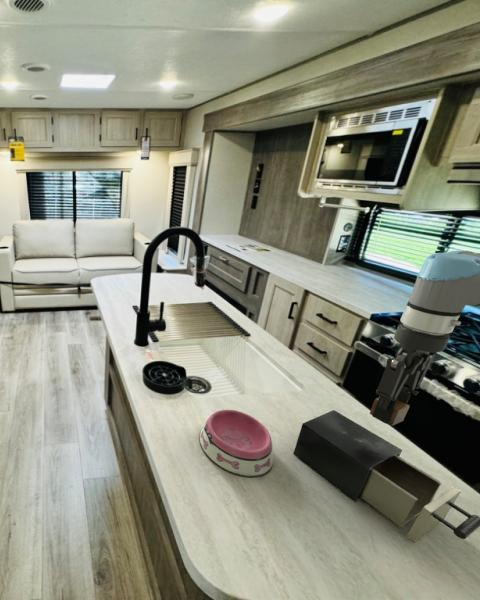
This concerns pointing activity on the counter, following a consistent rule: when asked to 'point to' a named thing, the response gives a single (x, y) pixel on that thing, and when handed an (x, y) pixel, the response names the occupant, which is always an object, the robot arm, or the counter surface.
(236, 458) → the dog bowl
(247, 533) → the counter surface
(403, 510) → the drawer
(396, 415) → the block
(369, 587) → the counter surface
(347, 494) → the cabinet
